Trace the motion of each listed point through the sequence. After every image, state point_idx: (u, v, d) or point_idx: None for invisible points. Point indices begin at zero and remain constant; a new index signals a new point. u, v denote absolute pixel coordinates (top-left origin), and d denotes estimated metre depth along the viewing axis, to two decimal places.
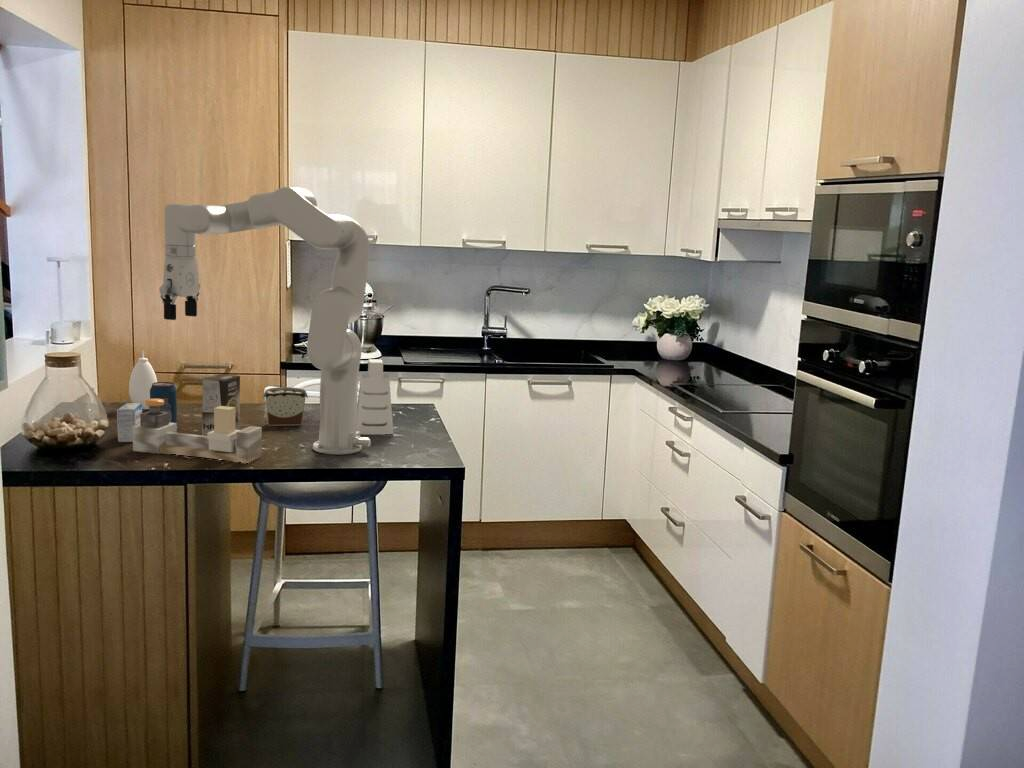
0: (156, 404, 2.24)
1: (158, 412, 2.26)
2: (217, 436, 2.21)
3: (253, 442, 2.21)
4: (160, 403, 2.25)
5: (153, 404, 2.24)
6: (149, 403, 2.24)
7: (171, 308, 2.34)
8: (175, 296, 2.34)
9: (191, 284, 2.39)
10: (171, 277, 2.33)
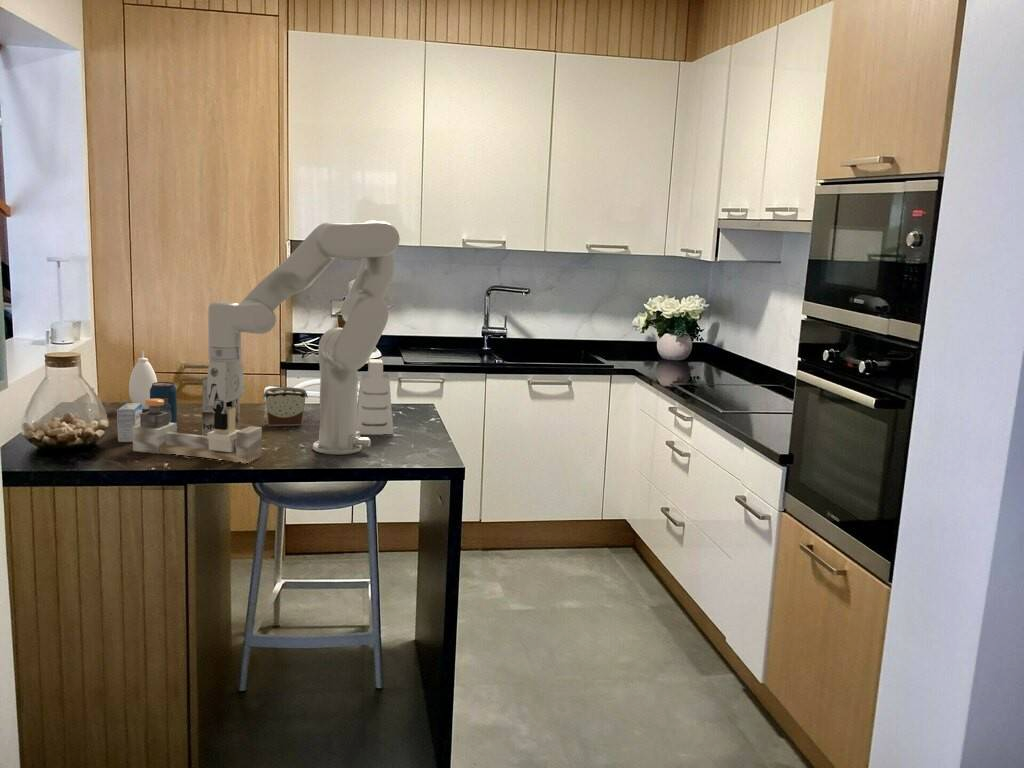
0: (156, 404, 2.24)
1: (158, 412, 2.26)
2: (217, 436, 2.21)
3: (253, 442, 2.21)
4: (160, 403, 2.25)
5: (153, 404, 2.24)
6: (149, 403, 2.24)
7: (222, 418, 2.20)
8: (224, 404, 2.19)
9: (236, 387, 2.21)
10: (216, 382, 2.16)
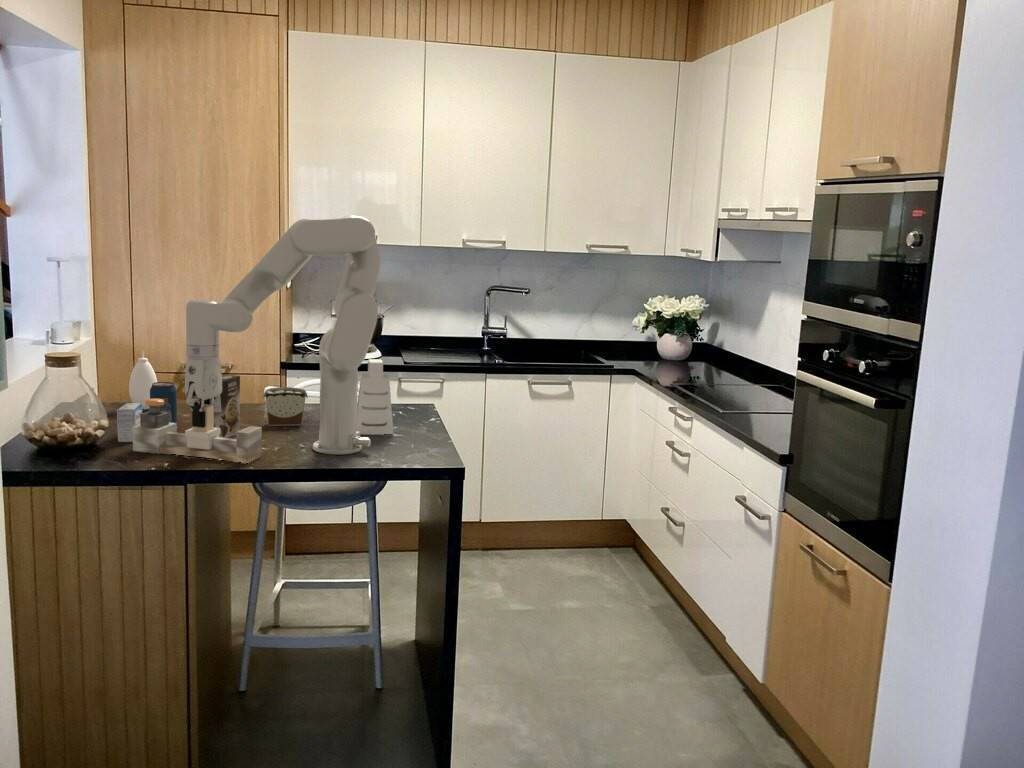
0: (156, 404, 2.24)
1: (158, 412, 2.26)
2: (195, 433, 2.22)
3: (253, 442, 2.21)
4: (160, 403, 2.25)
5: (153, 404, 2.24)
6: (149, 403, 2.24)
7: (200, 415, 2.21)
8: (202, 402, 2.20)
9: (214, 385, 2.23)
10: (193, 380, 2.17)
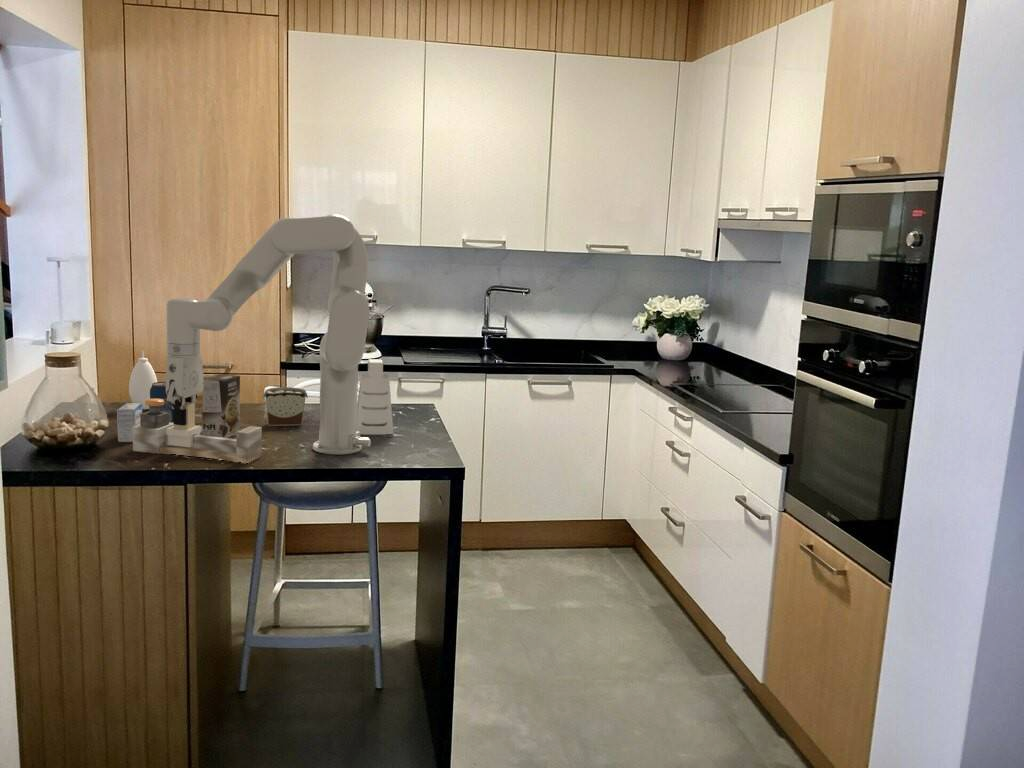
0: (156, 404, 2.24)
1: (158, 412, 2.26)
2: (176, 431, 2.23)
3: (253, 442, 2.21)
4: (160, 403, 2.25)
5: (153, 404, 2.24)
6: (149, 403, 2.24)
7: (181, 413, 2.22)
8: (183, 400, 2.21)
9: (195, 383, 2.23)
10: (174, 378, 2.18)
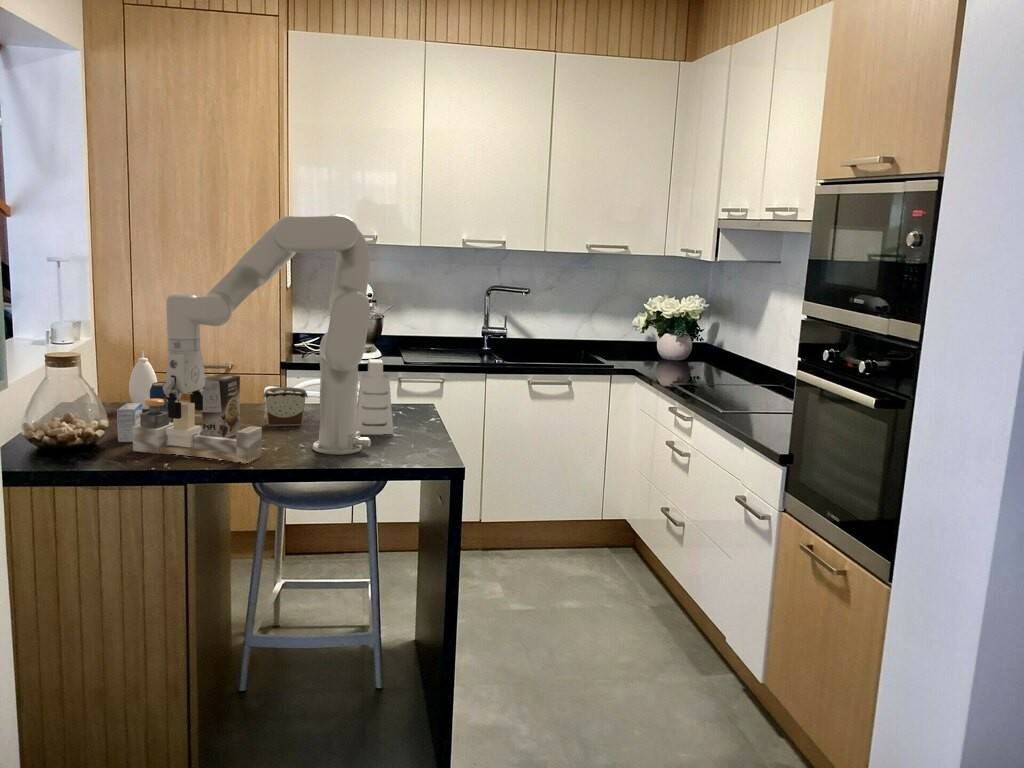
0: (156, 404, 2.24)
1: (158, 412, 2.26)
2: (176, 431, 2.23)
3: (253, 442, 2.21)
4: (160, 403, 2.25)
5: (153, 404, 2.24)
6: (149, 403, 2.24)
7: (176, 406, 2.19)
8: (180, 393, 2.19)
9: (196, 379, 2.23)
10: (175, 374, 2.18)
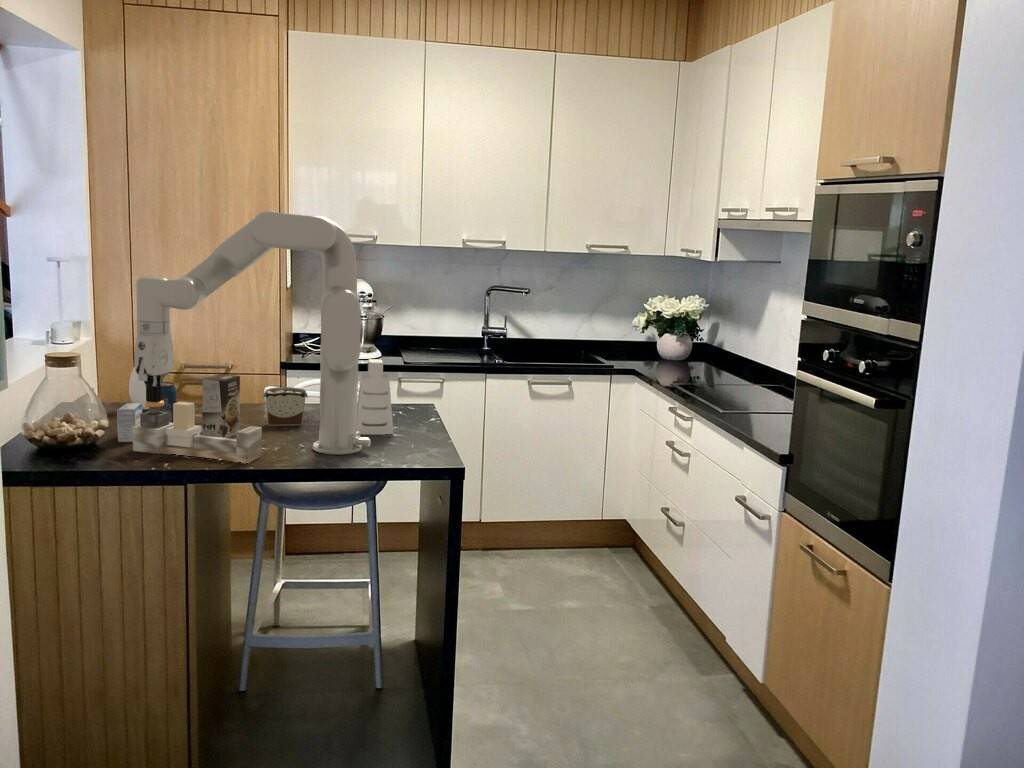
0: (156, 405, 2.24)
1: (158, 413, 2.26)
2: (176, 431, 2.23)
3: (253, 442, 2.21)
4: (160, 404, 2.25)
5: (153, 405, 2.24)
6: (149, 404, 2.24)
7: (153, 390, 2.24)
8: (154, 377, 2.23)
9: (165, 361, 2.24)
10: (143, 355, 2.19)
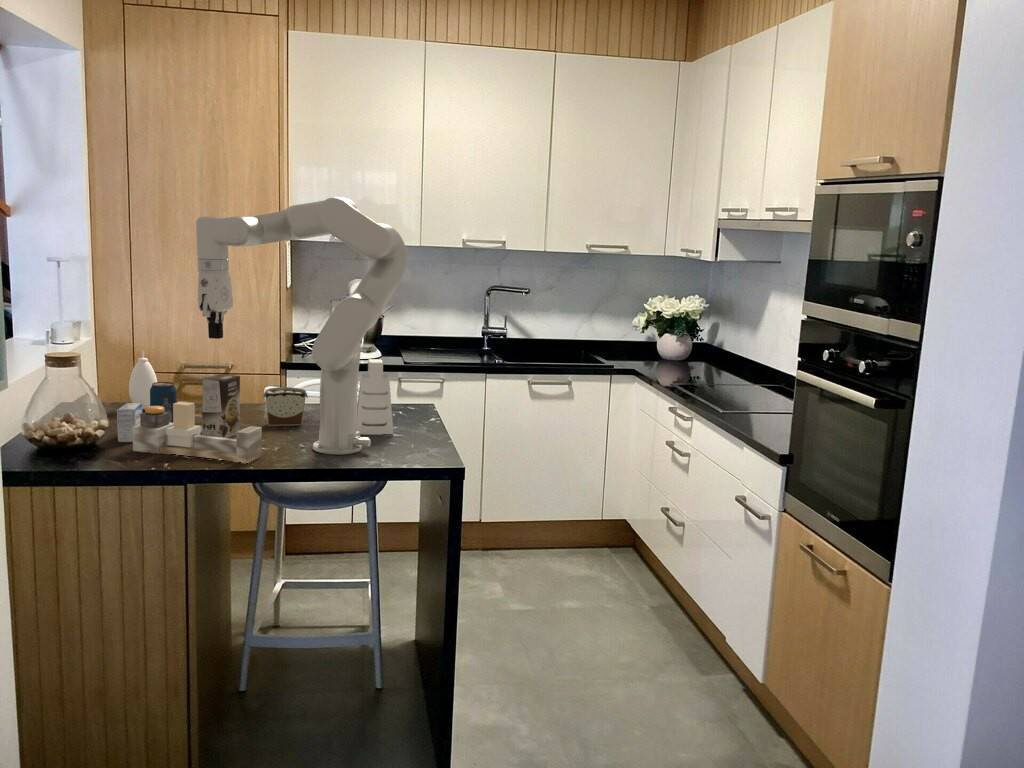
0: (156, 411, 2.25)
1: None
2: (176, 431, 2.23)
3: (253, 442, 2.21)
4: (160, 410, 2.25)
5: (153, 411, 2.24)
6: (149, 410, 2.24)
7: (216, 327, 2.32)
8: (217, 314, 2.31)
9: (225, 299, 2.32)
10: (206, 292, 2.27)
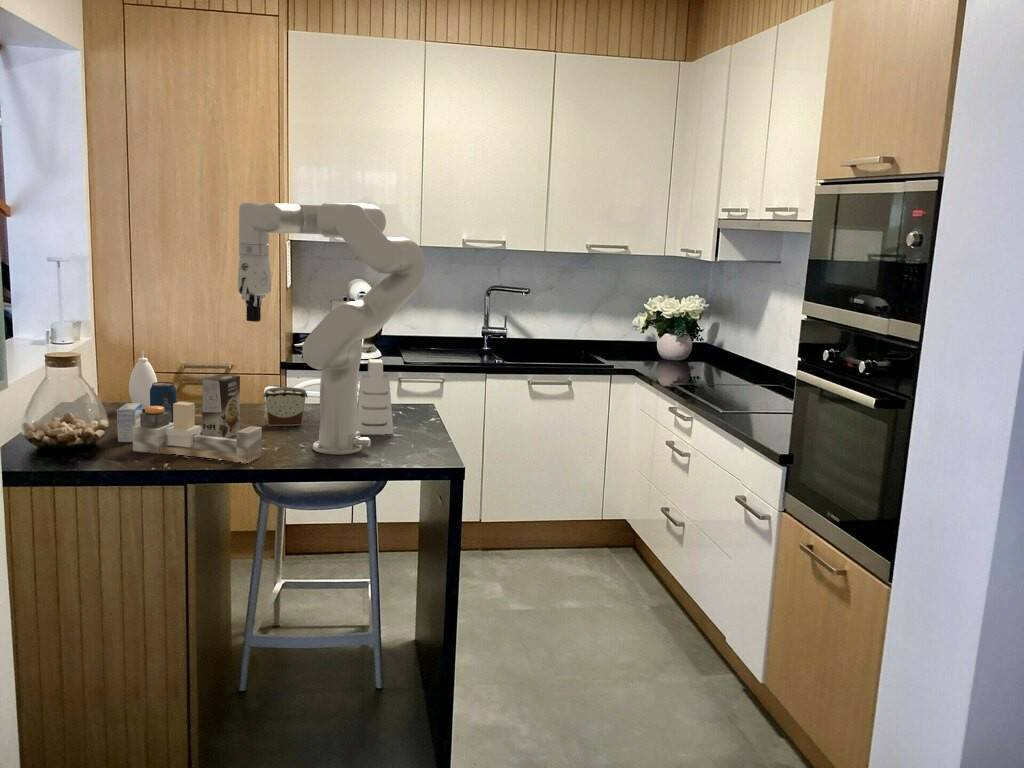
0: (156, 411, 2.25)
1: None
2: (176, 431, 2.23)
3: (253, 442, 2.21)
4: (160, 410, 2.25)
5: (153, 411, 2.24)
6: (149, 410, 2.24)
7: (254, 310, 2.39)
8: (255, 297, 2.38)
9: (264, 283, 2.39)
10: (246, 276, 2.34)
